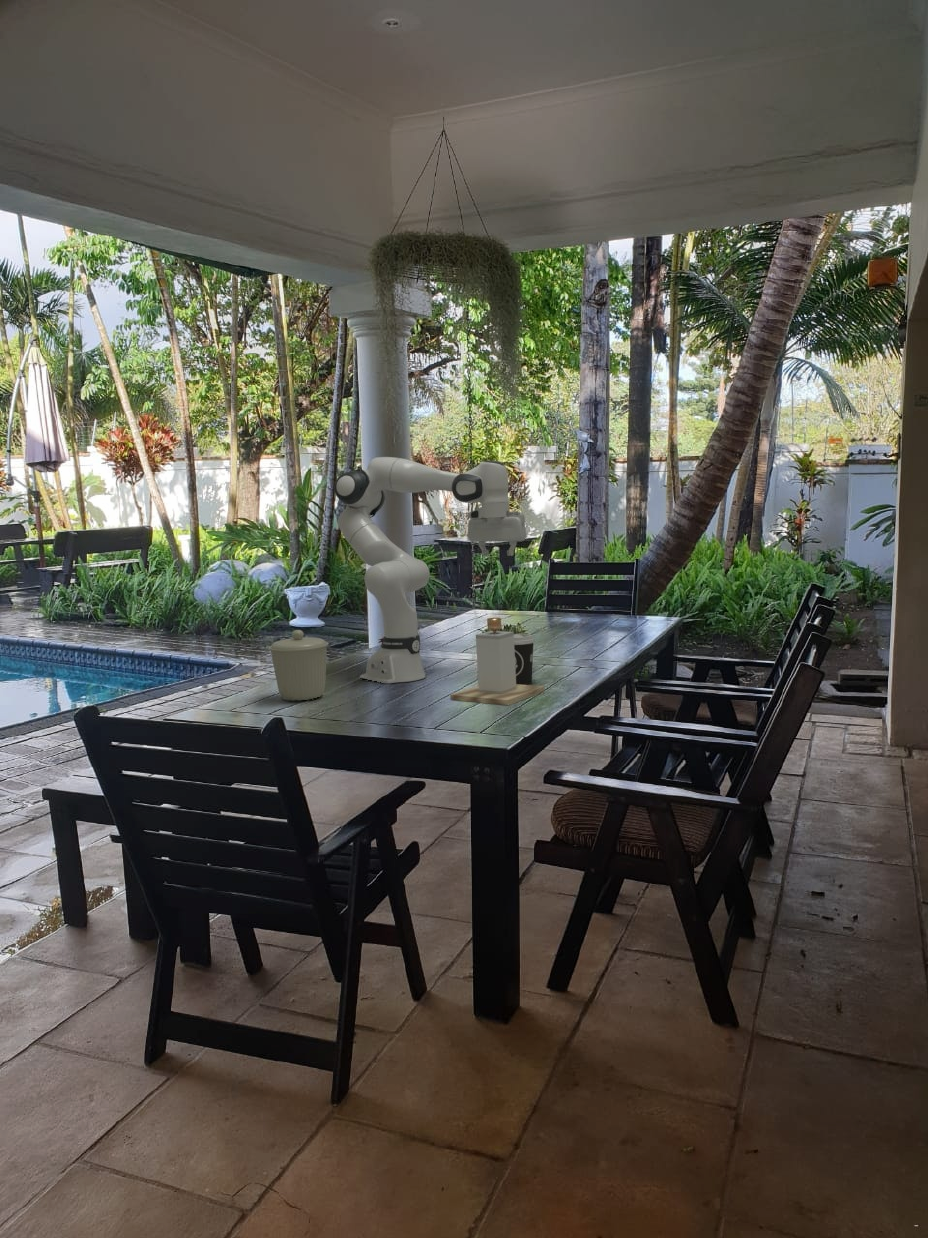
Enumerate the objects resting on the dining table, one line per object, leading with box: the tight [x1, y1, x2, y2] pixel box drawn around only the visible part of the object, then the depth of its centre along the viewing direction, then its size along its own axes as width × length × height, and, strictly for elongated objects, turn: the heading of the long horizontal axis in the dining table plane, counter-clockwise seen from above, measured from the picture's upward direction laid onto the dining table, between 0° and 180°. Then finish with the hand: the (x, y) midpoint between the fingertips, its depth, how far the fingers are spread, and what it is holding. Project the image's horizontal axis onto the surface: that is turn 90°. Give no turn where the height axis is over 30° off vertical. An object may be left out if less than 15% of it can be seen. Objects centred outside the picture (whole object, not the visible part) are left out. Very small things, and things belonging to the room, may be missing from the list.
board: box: [449, 684, 545, 706], centre depth 288 cm, size 20×20×2 cm
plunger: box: [486, 617, 502, 634], centre depth 286 cm, size 6×6×20 cm
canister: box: [267, 629, 330, 701], centre depth 298 cm, size 18×18×21 cm
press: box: [475, 630, 516, 694], centre depth 288 cm, size 8×11×17 cm
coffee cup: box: [514, 633, 536, 685], centre depth 303 cm, size 10×10×15 cm
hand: (497, 555), depth 311 cm, fingers open, 8 cm apart
